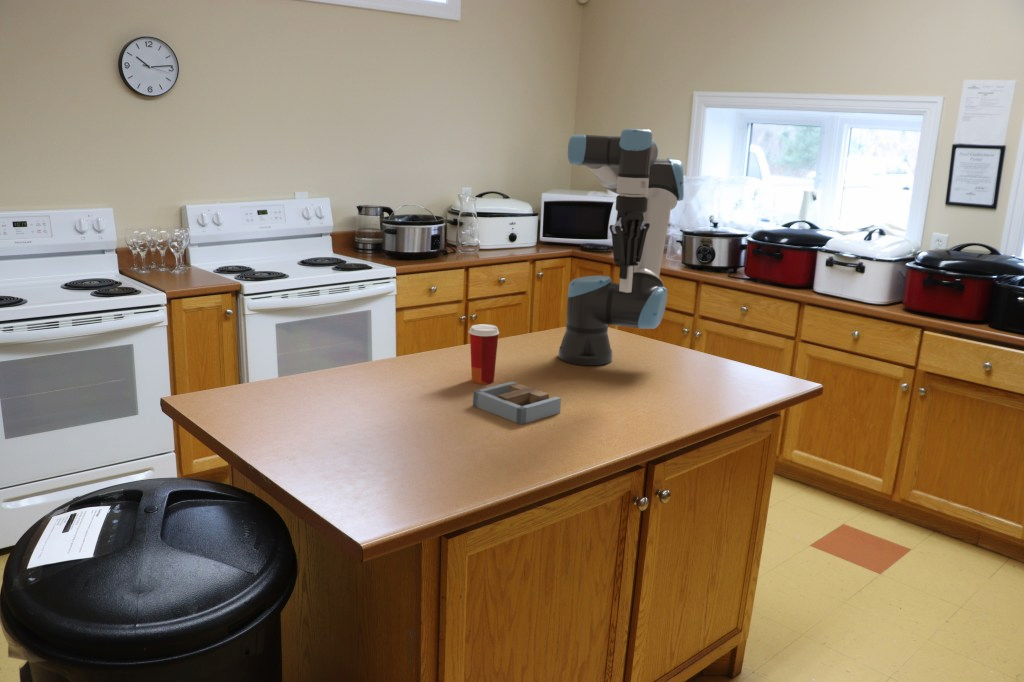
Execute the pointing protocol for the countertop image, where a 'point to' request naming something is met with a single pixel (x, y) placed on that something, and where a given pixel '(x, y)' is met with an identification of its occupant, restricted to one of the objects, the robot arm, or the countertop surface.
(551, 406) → the corral
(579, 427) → the countertop surface
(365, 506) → the countertop surface
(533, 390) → the tee block
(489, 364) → the paper cup
